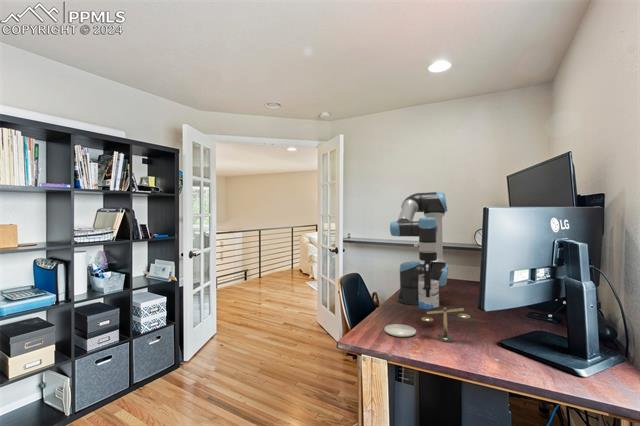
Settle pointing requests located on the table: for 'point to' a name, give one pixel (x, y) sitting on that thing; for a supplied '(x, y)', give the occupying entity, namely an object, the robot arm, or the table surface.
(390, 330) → the dish
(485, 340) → the table surface
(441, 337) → the balance
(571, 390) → the table surface
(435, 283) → the ink box
